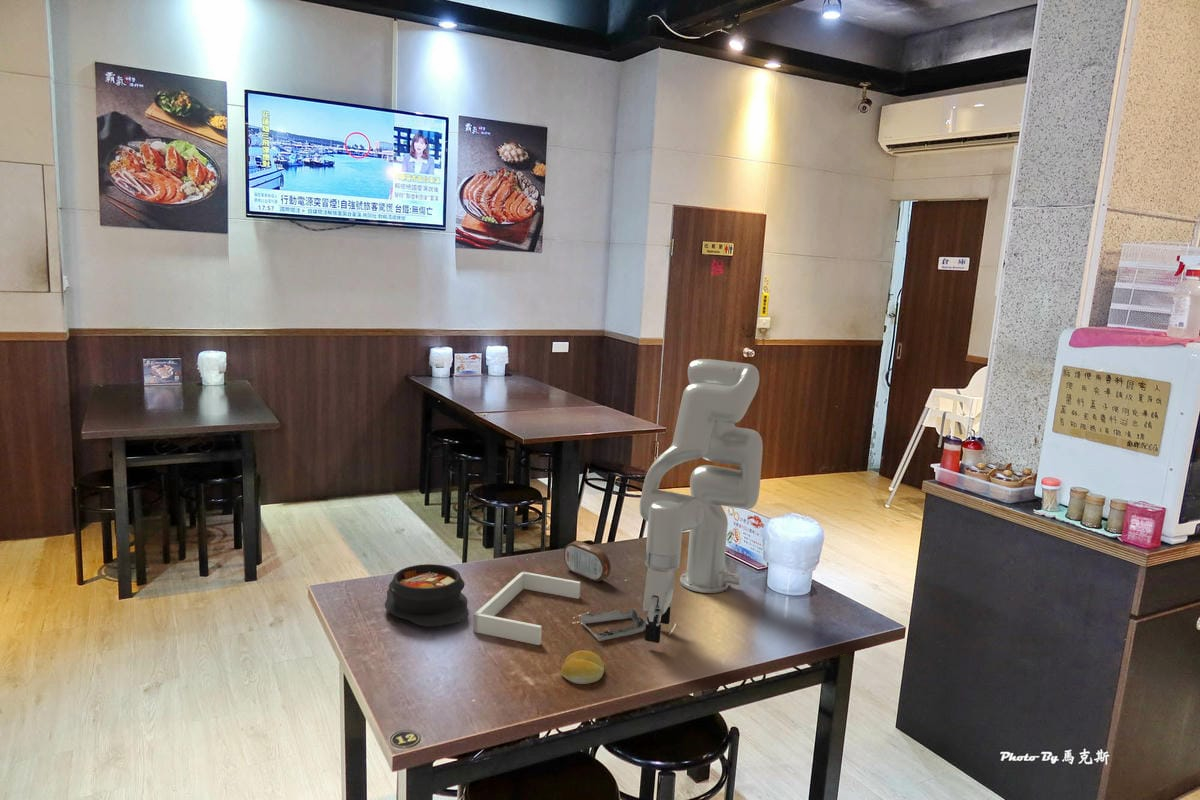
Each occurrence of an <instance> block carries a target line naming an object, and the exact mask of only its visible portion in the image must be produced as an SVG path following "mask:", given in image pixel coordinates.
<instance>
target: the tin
mask: <svg viewBox="0 0 1200 800" xmlns="http://www.w3.org/2000/svg"><path fill="white" fill-rule="evenodd" d="M563 557H564V558H563V559H564V564H565V566H566V567H567V568H568V569H569V570H570V571H571V572H572V573H574V574H576V575H578V576H581V577H583V578H586V579H587V578H588V580H590V581H592V580H593V581H592V582H595V581H596V582H600V581H602V580H606V579H608V577H609V576H610V574H611V561H610V558H609V556H608V555H607V554H606V553H605V552H604V551H603V550H602V549H600V548H598V547H595V546H593V545H590V544H588V543H585V542H584V541H580V540H574V541H572V542H571V543H568V544H567V545H565V547H564V550H563Z"/></svg>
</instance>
